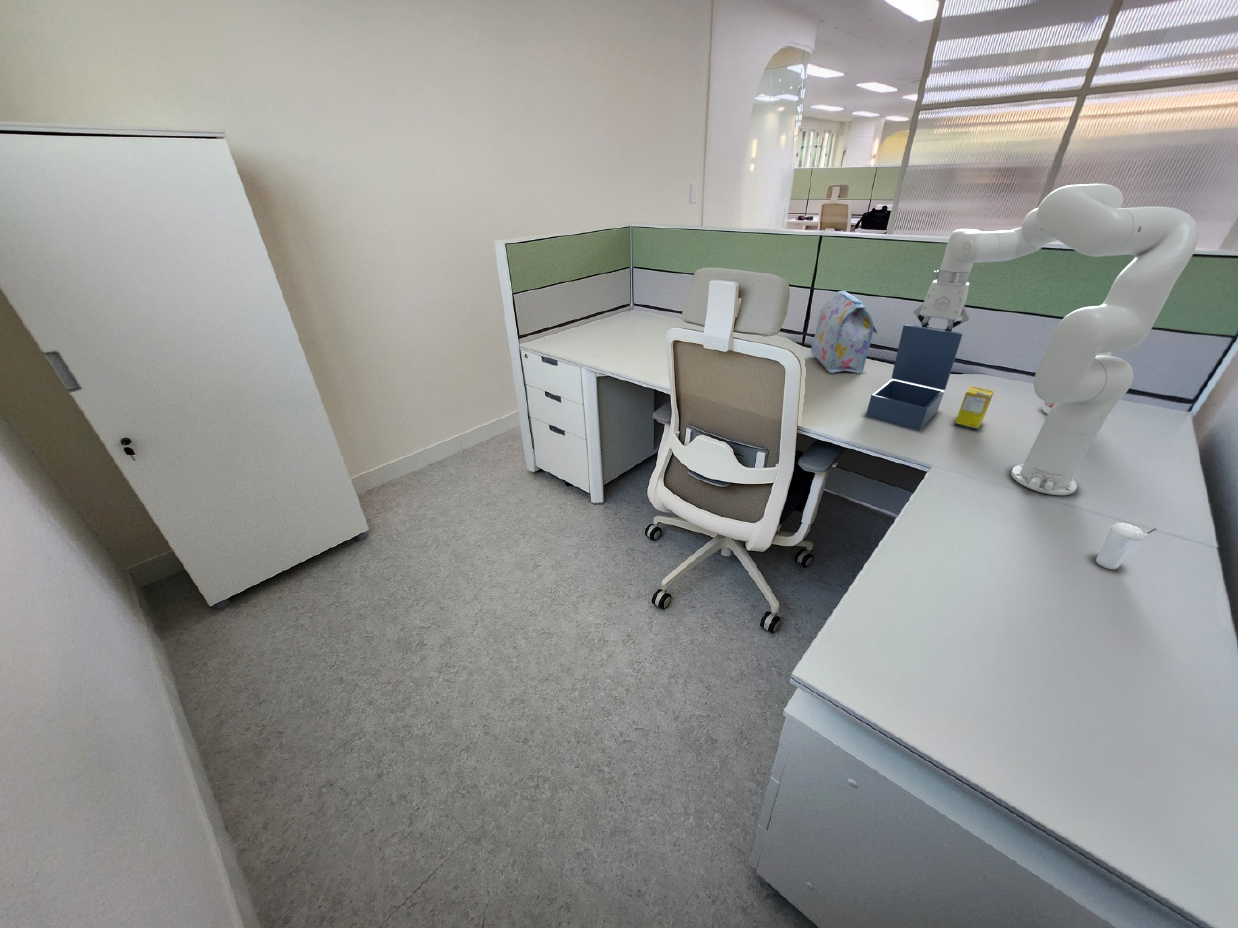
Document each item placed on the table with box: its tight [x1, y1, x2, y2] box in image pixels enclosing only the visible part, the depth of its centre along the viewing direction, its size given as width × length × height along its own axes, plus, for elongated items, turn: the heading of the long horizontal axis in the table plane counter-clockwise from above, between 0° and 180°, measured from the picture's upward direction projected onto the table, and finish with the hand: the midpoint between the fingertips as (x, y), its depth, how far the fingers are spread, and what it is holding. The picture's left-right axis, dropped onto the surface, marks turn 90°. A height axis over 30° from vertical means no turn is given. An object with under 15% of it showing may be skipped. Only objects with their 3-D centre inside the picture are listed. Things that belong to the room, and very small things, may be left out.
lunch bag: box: [810, 290, 879, 374], centre depth 185 cm, size 22×17×26 cm
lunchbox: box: [865, 378, 945, 432], centre depth 150 cm, size 18×16×7 cm
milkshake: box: [1095, 522, 1157, 570], centre depth 91 cm, size 4×5×10 cm
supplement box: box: [954, 385, 995, 432], centre depth 142 cm, size 6×6×11 cm
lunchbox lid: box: [891, 324, 964, 391], centre depth 149 cm, size 18×16×5 cm
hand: (933, 338), depth 147 cm, fingers closed on lunchbox lid, 5 cm apart
